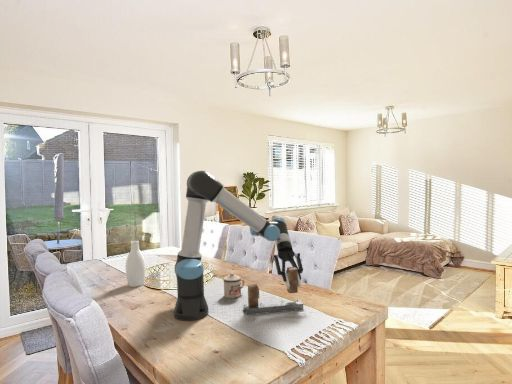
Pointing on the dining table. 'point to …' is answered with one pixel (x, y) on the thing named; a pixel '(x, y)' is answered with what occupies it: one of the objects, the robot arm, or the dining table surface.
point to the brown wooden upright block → (292, 279)
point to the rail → (273, 307)
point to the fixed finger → (253, 294)
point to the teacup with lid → (232, 286)
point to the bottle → (135, 266)
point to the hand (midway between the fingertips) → (294, 286)
